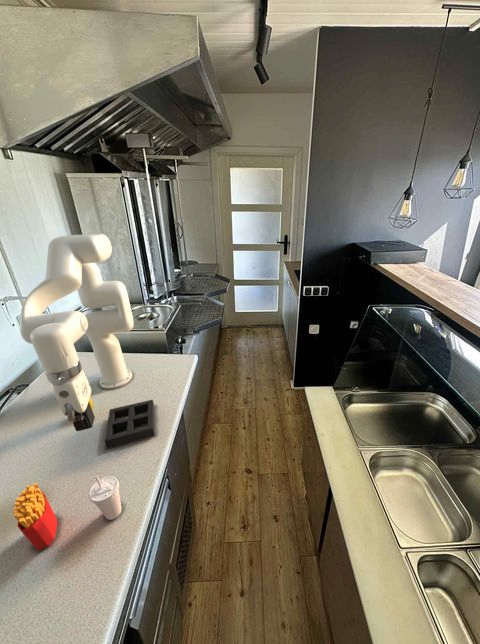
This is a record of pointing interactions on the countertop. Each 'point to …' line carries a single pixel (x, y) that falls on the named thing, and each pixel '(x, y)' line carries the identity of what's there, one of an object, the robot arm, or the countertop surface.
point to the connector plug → (88, 415)
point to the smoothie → (106, 496)
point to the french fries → (35, 517)
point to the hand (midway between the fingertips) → (85, 422)
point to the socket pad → (130, 424)
